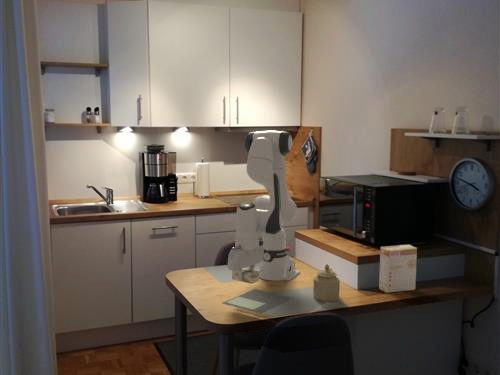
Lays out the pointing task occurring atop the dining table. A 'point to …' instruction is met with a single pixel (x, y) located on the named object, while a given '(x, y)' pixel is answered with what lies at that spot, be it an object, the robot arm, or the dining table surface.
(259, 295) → the rubber mat
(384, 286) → the coffeecake box
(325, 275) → the sugar bowl
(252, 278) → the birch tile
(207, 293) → the dining table surface
